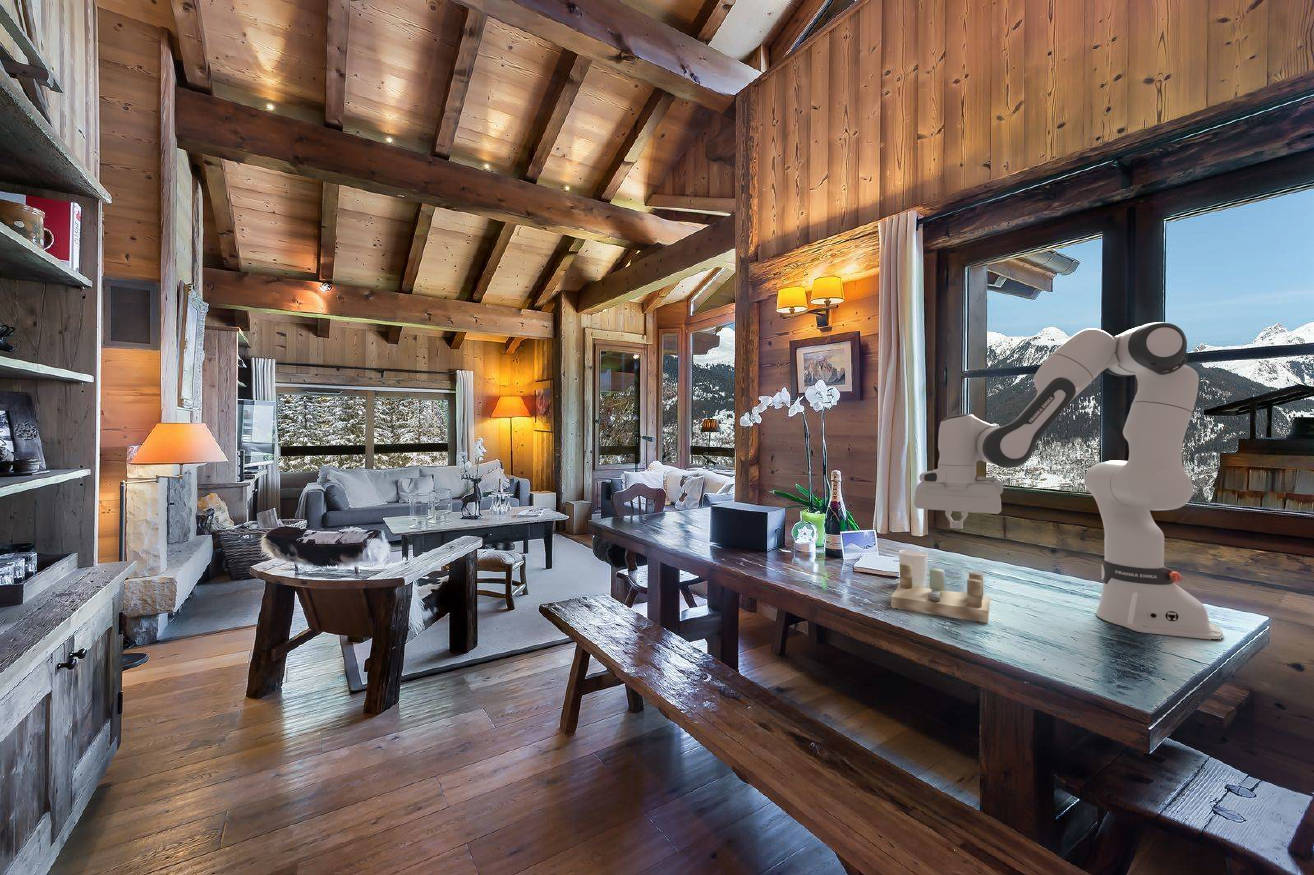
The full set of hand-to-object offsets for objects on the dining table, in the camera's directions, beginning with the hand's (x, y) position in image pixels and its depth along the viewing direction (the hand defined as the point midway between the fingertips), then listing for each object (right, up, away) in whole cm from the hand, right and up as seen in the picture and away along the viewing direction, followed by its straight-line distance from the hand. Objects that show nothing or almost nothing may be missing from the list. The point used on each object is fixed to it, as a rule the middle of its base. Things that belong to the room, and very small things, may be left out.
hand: (956, 528), depth 146 cm
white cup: (-2, -21, +21) cm, 29 cm away
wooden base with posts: (-4, -21, 0) cm, 21 cm away
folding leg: (-5, -18, 0) cm, 19 cm away
